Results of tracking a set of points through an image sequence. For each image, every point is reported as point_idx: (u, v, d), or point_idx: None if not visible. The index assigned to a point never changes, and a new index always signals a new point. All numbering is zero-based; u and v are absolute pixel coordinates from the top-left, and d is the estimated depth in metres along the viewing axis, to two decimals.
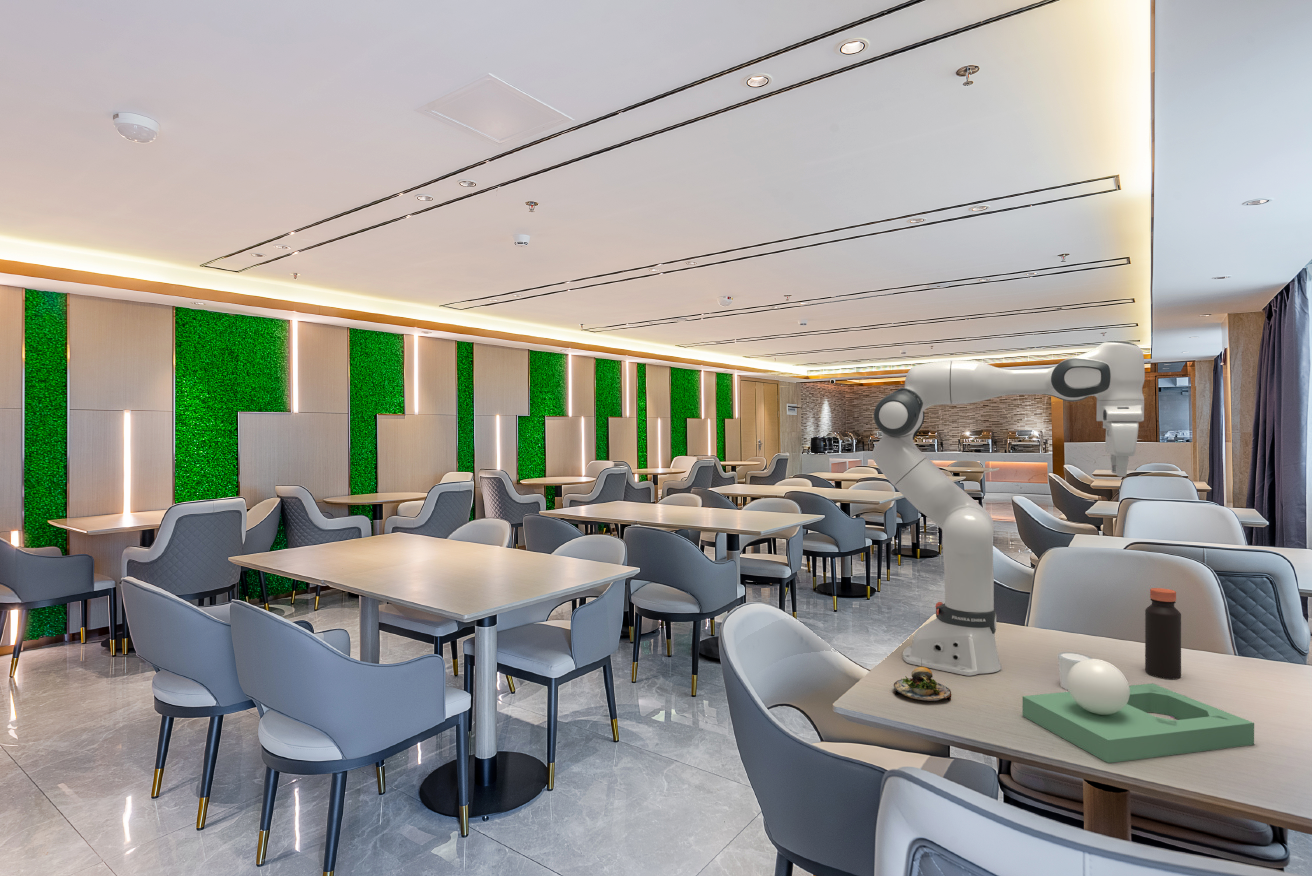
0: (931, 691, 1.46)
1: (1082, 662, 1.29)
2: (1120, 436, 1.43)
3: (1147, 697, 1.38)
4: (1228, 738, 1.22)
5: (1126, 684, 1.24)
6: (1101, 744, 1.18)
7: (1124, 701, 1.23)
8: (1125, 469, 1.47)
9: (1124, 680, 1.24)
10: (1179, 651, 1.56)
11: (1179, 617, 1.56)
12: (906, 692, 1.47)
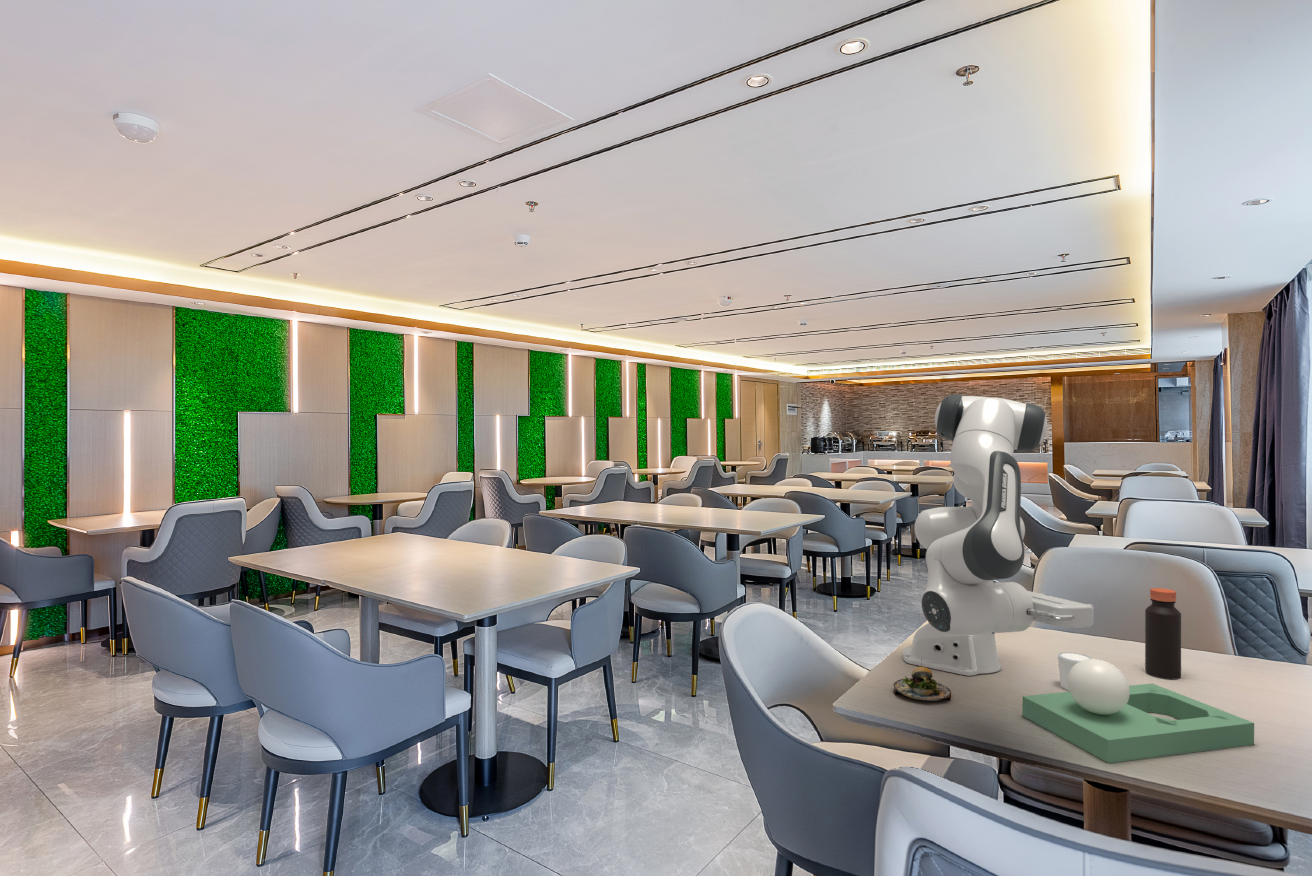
0: (931, 691, 1.46)
1: (1082, 662, 1.29)
2: None
3: (1147, 697, 1.38)
4: (1228, 738, 1.22)
5: (1126, 684, 1.24)
6: (1101, 744, 1.18)
7: (1124, 701, 1.23)
8: None
9: (1124, 680, 1.24)
10: (1179, 651, 1.56)
11: (1179, 617, 1.56)
12: (906, 692, 1.47)
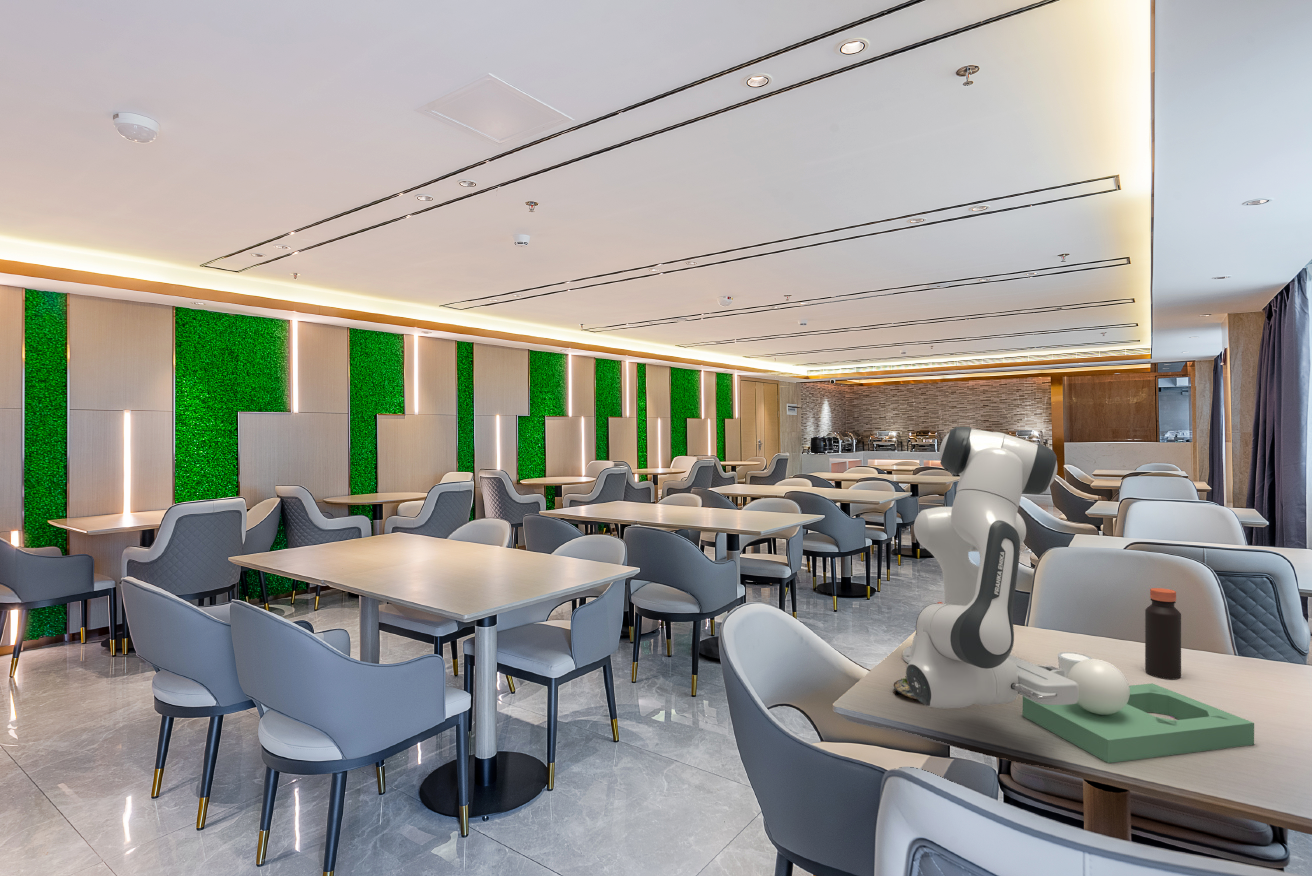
0: None
1: (1082, 662, 1.29)
2: None
3: (1147, 697, 1.38)
4: (1228, 738, 1.22)
5: (1126, 684, 1.24)
6: (1101, 744, 1.18)
7: (1124, 701, 1.23)
8: None
9: (1124, 680, 1.24)
10: (1179, 651, 1.56)
11: (1179, 617, 1.56)
12: (906, 692, 1.47)
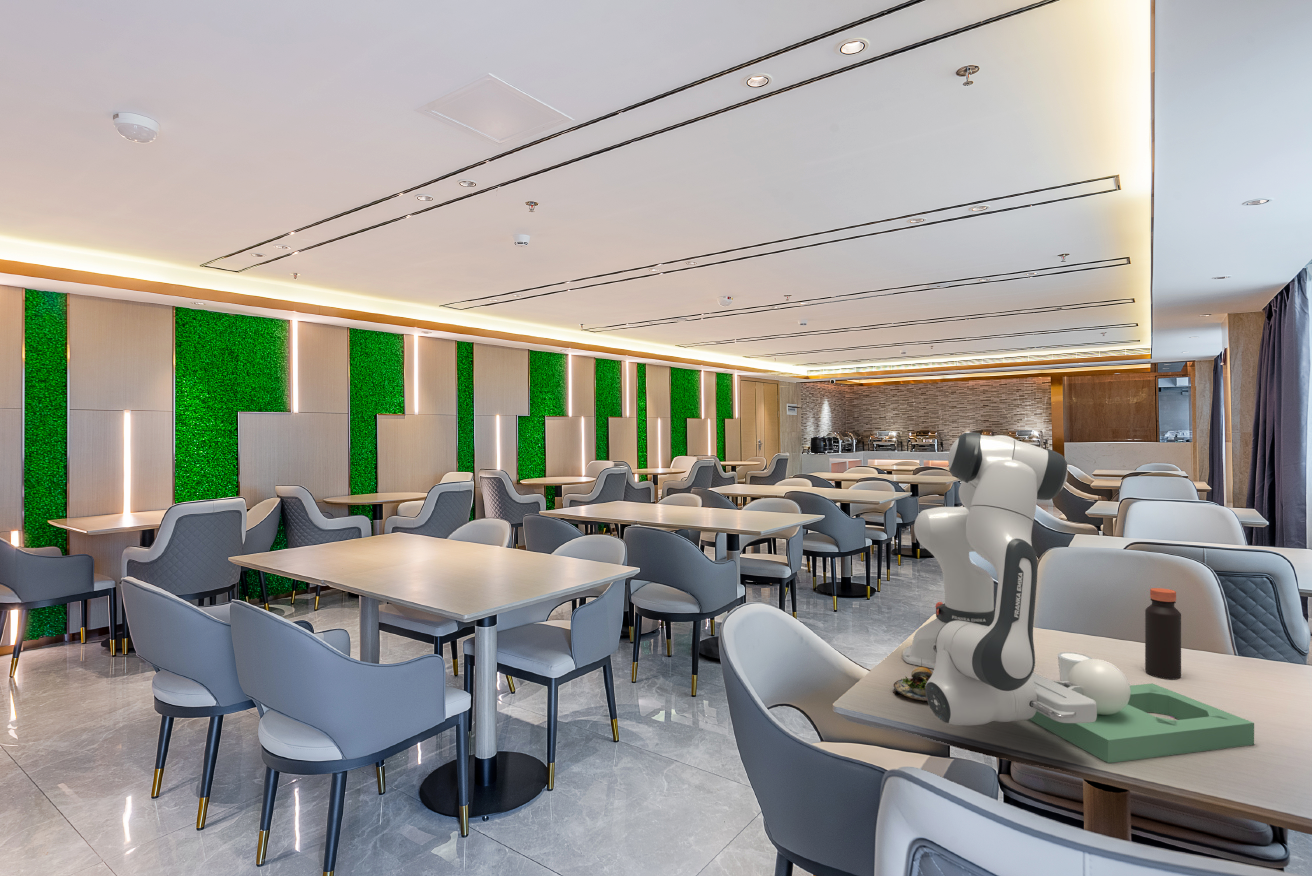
0: None
1: (1083, 662, 1.29)
2: None
3: (1147, 697, 1.38)
4: (1228, 738, 1.22)
5: (1127, 684, 1.24)
6: (1101, 744, 1.18)
7: (1124, 702, 1.23)
8: None
9: (1125, 680, 1.24)
10: (1179, 651, 1.56)
11: (1179, 617, 1.56)
12: (906, 692, 1.47)
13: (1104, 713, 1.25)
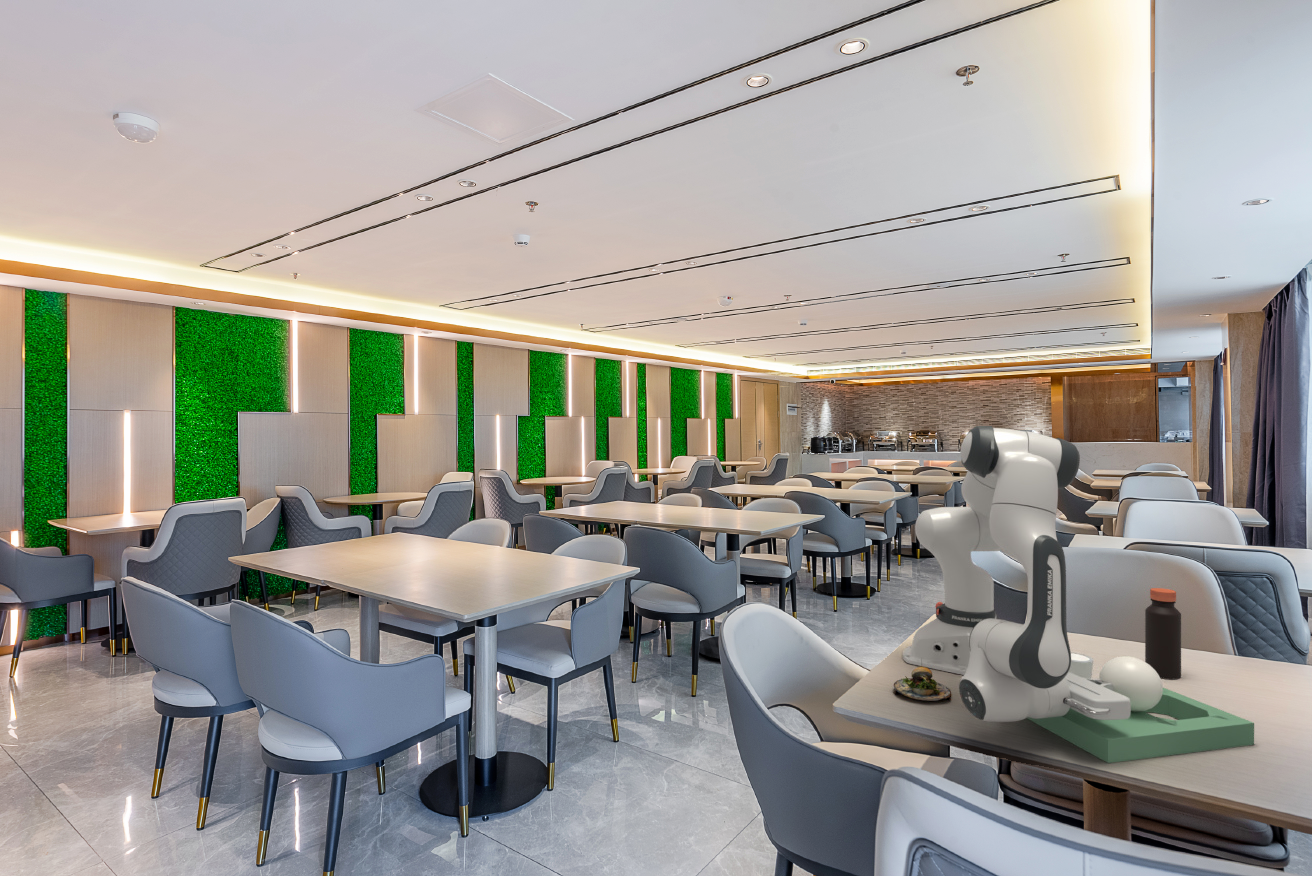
0: (931, 691, 1.46)
1: None
2: None
3: None
4: (1228, 738, 1.22)
5: (1158, 701, 1.26)
6: (1101, 744, 1.18)
7: (1148, 699, 1.24)
8: None
9: None
10: (1179, 651, 1.56)
11: (1179, 617, 1.56)
12: (906, 692, 1.47)
13: (1124, 686, 1.26)
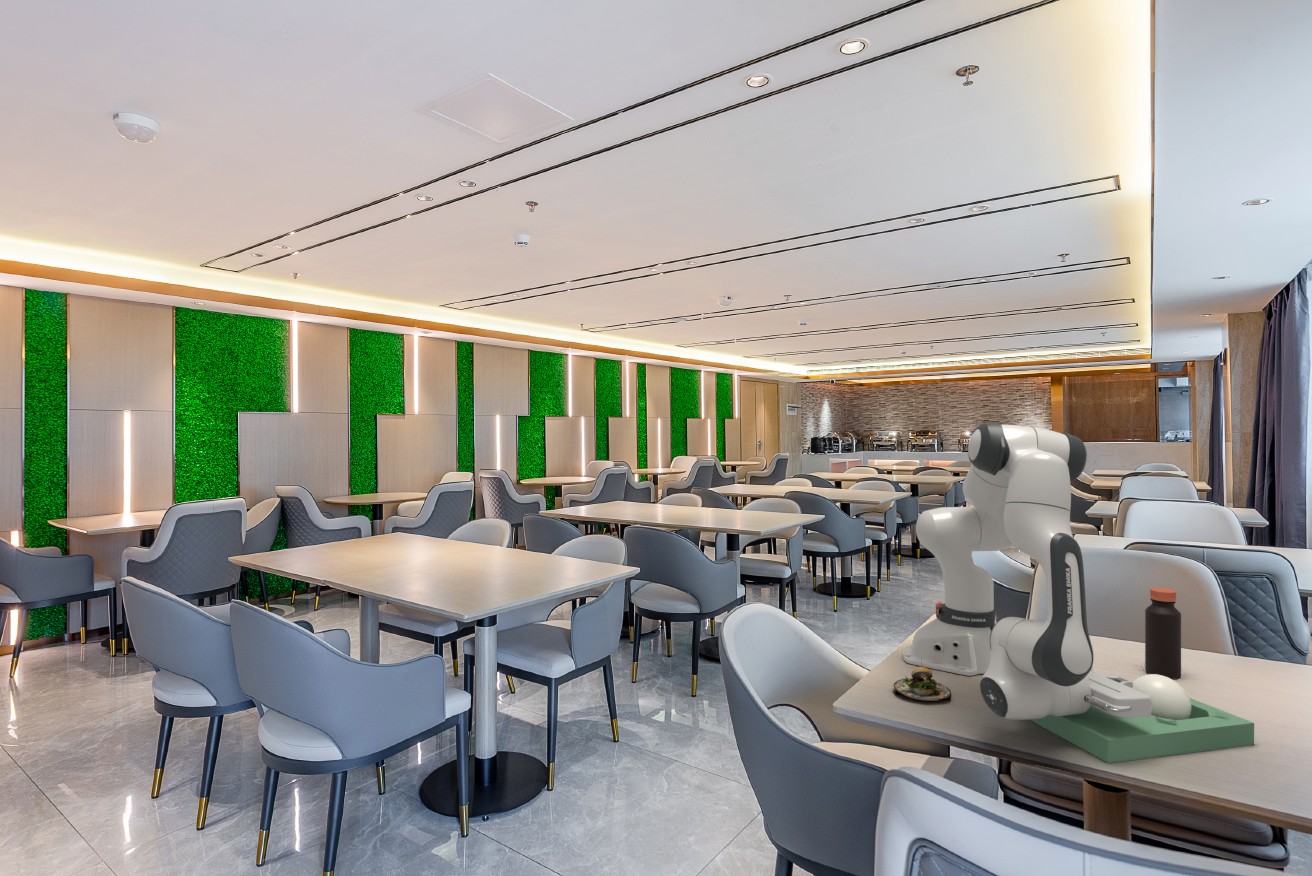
0: (931, 691, 1.46)
1: None
2: None
3: None
4: (1228, 738, 1.22)
5: None
6: (1101, 744, 1.18)
7: (1178, 704, 1.26)
8: None
9: None
10: (1179, 651, 1.56)
11: (1179, 617, 1.56)
12: (906, 692, 1.47)
13: (1177, 685, 1.28)
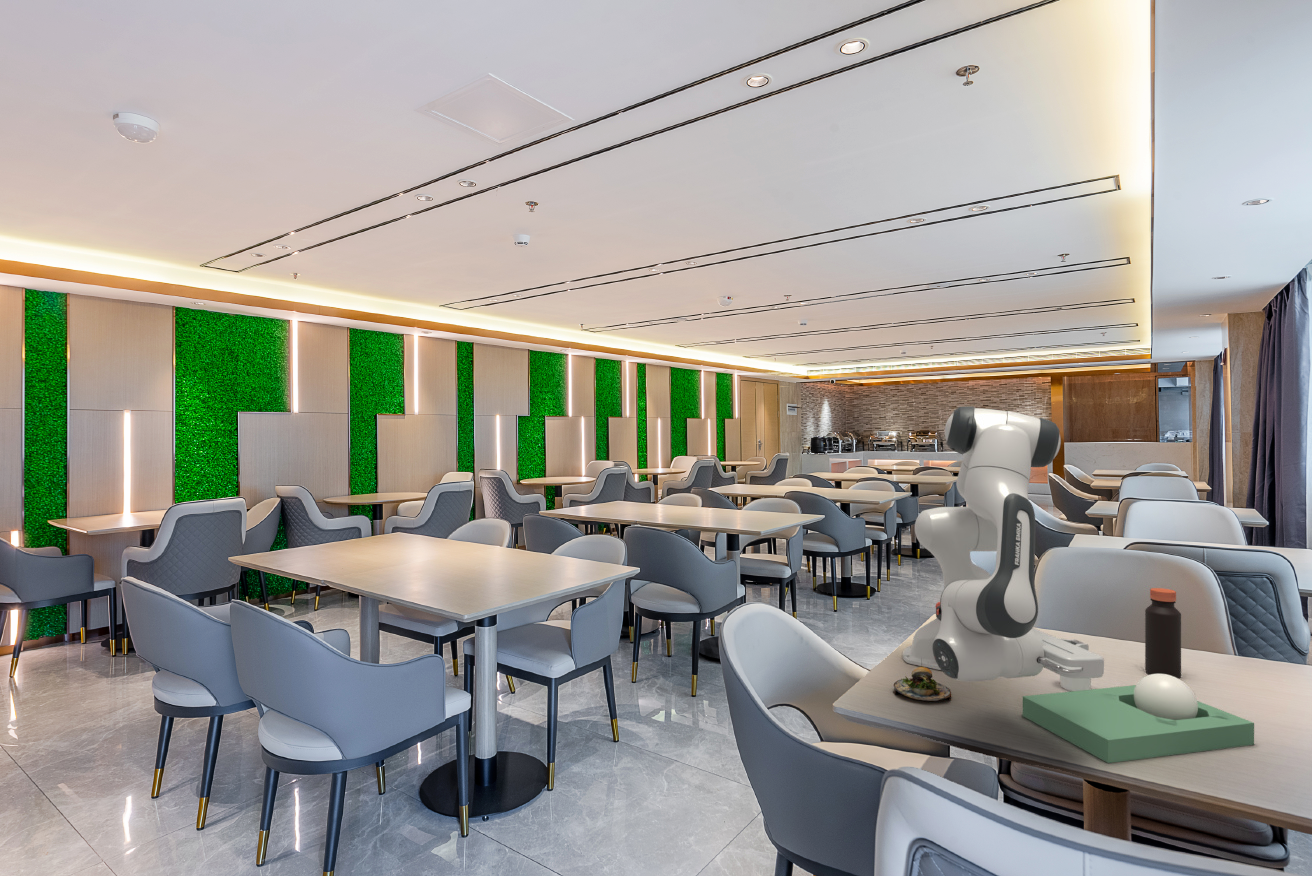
0: (931, 691, 1.46)
1: None
2: None
3: None
4: (1228, 738, 1.22)
5: (1175, 715, 1.26)
6: (1101, 744, 1.18)
7: (1186, 702, 1.26)
8: None
9: (1173, 718, 1.27)
10: (1179, 651, 1.56)
11: (1179, 617, 1.56)
12: (906, 692, 1.47)
13: (1188, 687, 1.29)
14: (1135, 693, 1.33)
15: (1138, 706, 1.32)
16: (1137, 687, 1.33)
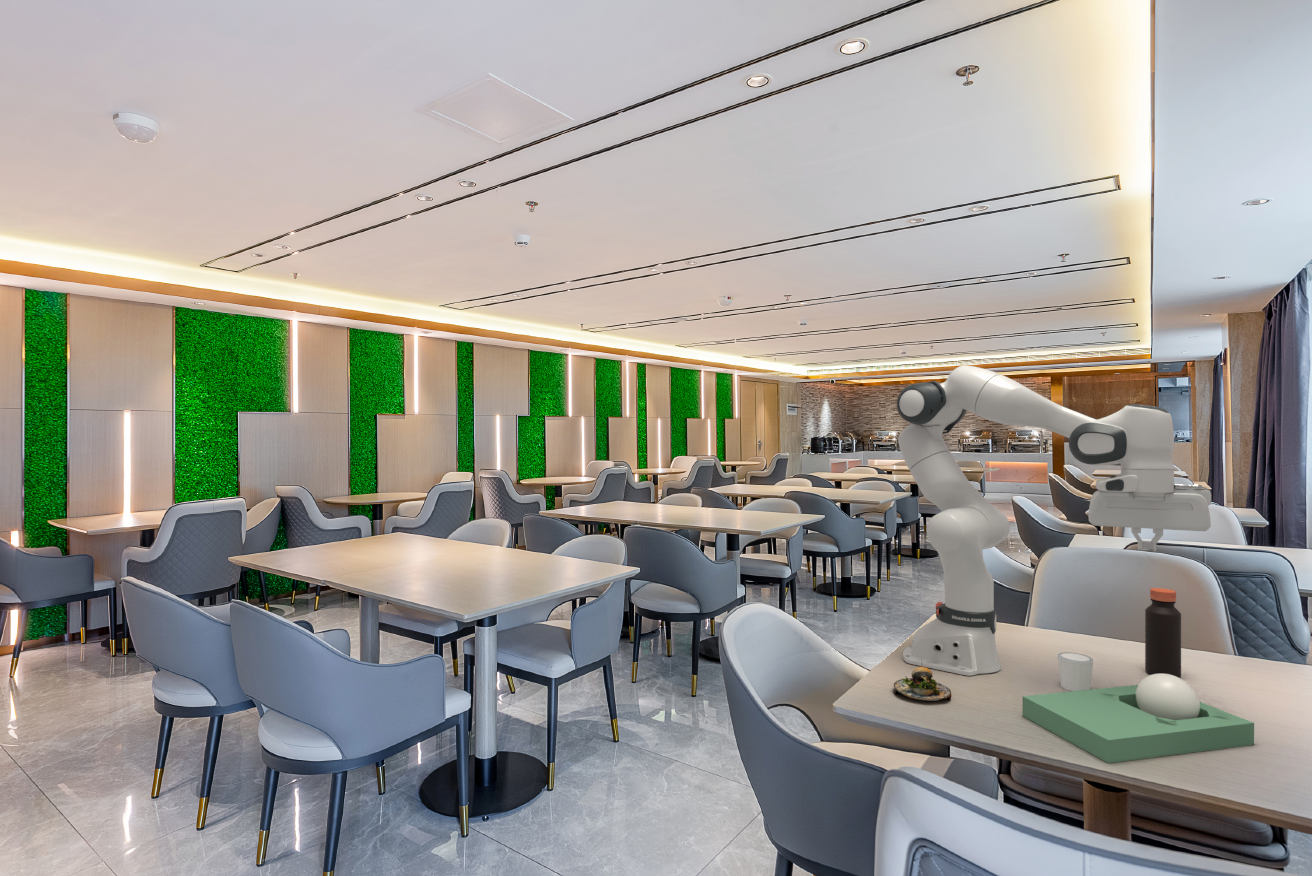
0: (931, 691, 1.46)
1: None
2: (1090, 504, 1.43)
3: None
4: (1228, 738, 1.22)
5: (1176, 713, 1.26)
6: (1101, 744, 1.18)
7: (1189, 702, 1.26)
8: (1138, 542, 1.38)
9: (1175, 716, 1.27)
10: (1179, 651, 1.56)
11: (1179, 617, 1.56)
12: (906, 692, 1.47)
13: (1191, 688, 1.29)
14: (1137, 691, 1.33)
15: (1140, 704, 1.32)
16: (1140, 685, 1.33)
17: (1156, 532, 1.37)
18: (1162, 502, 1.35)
